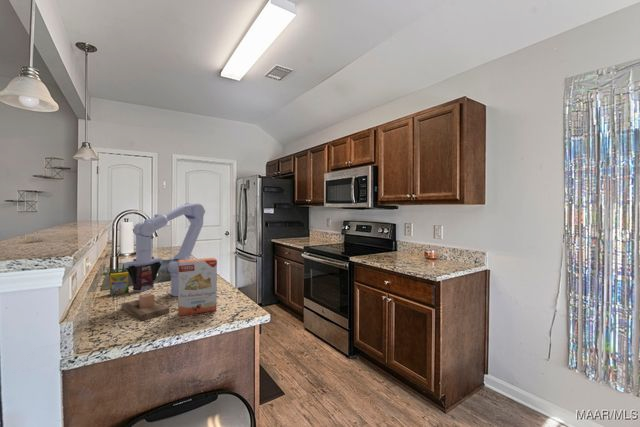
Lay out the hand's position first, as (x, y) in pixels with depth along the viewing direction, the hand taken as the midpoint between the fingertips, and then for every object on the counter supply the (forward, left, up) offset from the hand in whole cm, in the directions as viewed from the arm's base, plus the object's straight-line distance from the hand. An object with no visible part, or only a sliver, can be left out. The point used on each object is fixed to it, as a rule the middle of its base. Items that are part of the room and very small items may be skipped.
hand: (144, 281), depth 129 cm
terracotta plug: (+3, +10, -9) cm, 14 cm away
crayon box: (+2, -24, -9) cm, 26 cm away
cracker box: (-9, +27, -9) cm, 30 cm away
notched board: (+4, +10, -9) cm, 14 cm away
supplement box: (-8, -22, -9) cm, 25 cm away
